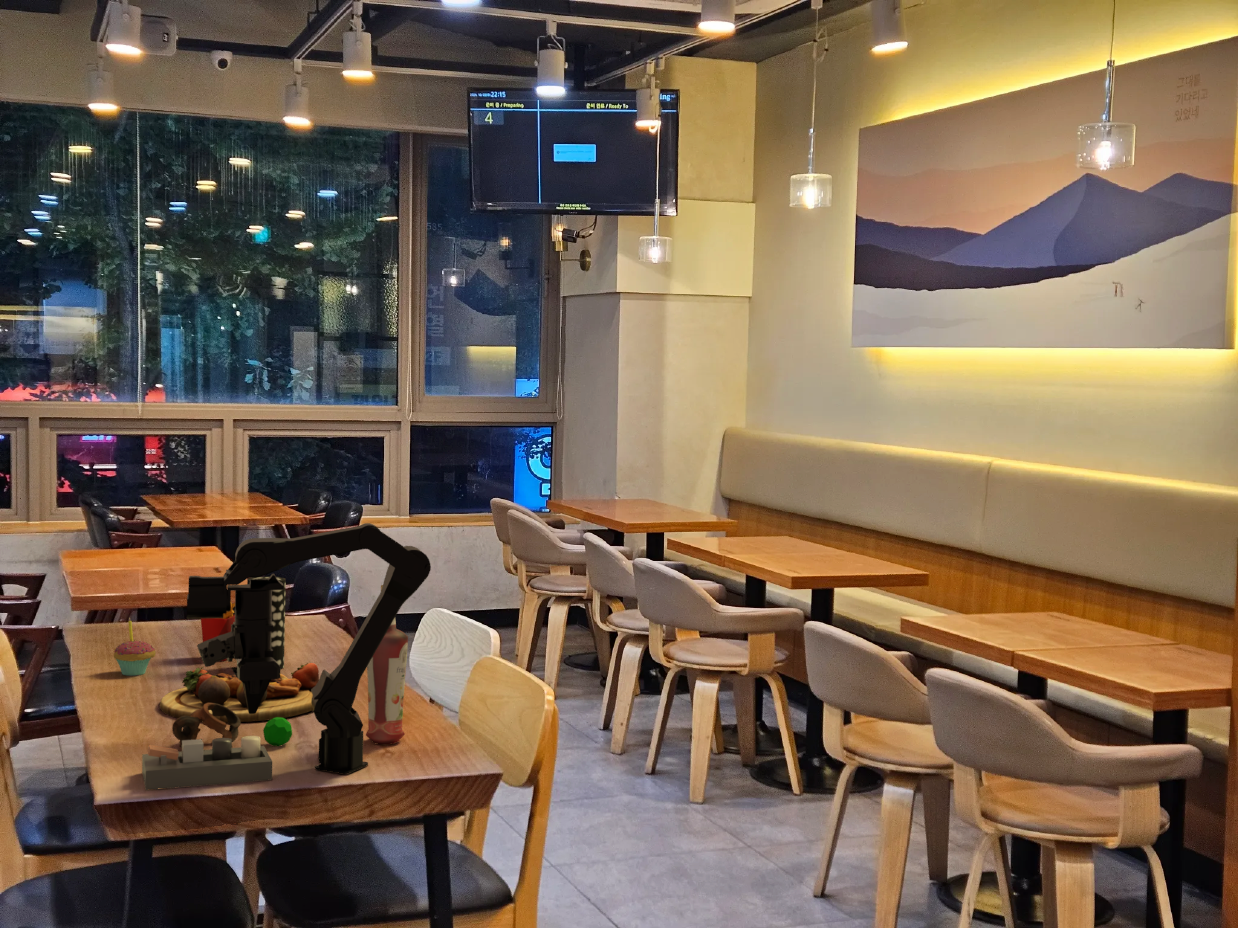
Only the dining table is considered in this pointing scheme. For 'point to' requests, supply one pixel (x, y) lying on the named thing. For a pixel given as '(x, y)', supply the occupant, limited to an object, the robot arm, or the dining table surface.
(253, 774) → the panel
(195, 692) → the wooden plate with food
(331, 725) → the robot arm
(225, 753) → the black round button
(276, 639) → the spotted tube
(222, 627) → the french fries
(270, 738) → the polyhedron
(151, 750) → the terracotta rocker
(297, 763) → the dining table surface
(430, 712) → the dining table surface
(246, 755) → the white cylinder
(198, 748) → the grey square button
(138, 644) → the cupcake
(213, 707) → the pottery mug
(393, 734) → the liquor
